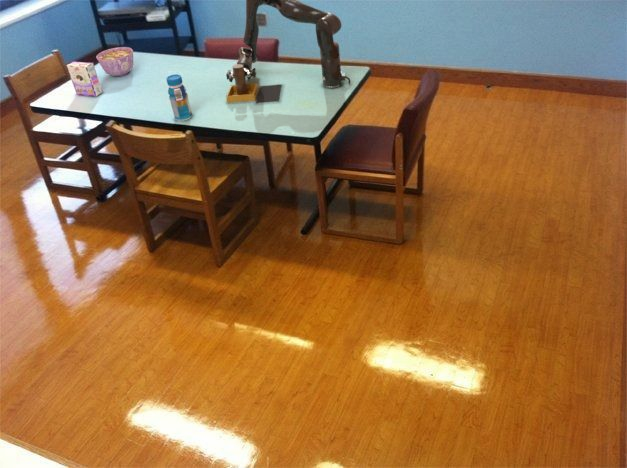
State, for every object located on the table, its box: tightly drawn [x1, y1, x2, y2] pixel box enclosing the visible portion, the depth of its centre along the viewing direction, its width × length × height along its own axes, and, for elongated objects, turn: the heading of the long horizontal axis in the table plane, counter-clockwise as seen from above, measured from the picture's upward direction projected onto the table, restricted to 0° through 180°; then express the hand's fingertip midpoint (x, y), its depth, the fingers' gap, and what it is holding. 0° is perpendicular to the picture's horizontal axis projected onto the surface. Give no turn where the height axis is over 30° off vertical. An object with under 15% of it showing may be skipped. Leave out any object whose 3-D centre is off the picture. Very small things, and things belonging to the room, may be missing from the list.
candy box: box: [66, 61, 104, 98], centre depth 312 cm, size 14×6×16 cm, turn 65°
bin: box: [226, 82, 259, 103], centre depth 293 cm, size 14×14×4 cm
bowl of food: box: [95, 46, 134, 77], centre depth 333 cm, size 20×20×12 cm
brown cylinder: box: [232, 63, 248, 95], centre depth 290 cm, size 5×5×15 cm
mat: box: [255, 84, 283, 104], centre depth 293 cm, size 11×20×1 cm, turn 178°
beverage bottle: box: [166, 73, 193, 122], centre depth 276 cm, size 8×8×20 cm
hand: (239, 79), depth 287 cm, fingers open, 8 cm apart
